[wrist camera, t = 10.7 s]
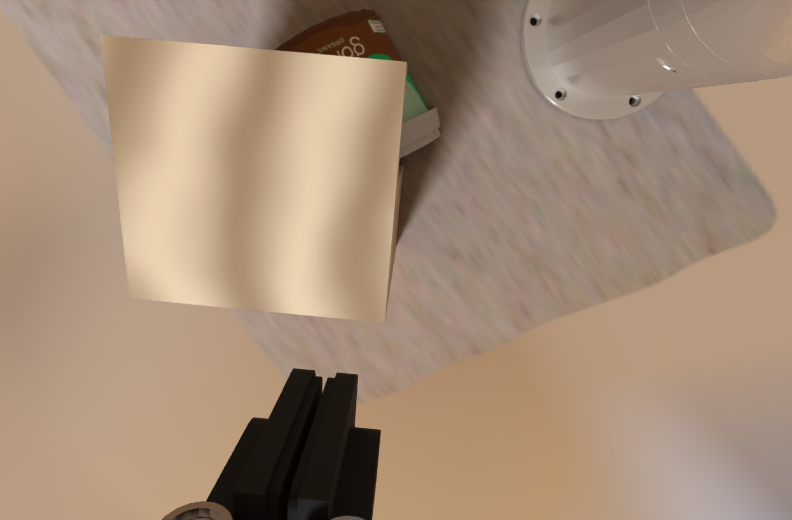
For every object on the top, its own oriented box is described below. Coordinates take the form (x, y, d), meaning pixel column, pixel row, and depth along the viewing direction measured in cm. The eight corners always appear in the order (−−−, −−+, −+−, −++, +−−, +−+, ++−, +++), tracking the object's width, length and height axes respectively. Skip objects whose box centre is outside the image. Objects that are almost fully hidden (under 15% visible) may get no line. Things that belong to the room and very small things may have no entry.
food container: (389, -22, 27) (453, 134, 29) (394, 3, 32) (446, 131, 35) (218, 71, 29) (291, 210, 31) (251, 79, 34) (311, 195, 37)
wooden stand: (410, 85, 34) (406, 61, 20) (396, 246, 38) (384, 322, 24) (231, 69, 34) (100, 35, 20) (235, 231, 38) (129, 298, 24)
